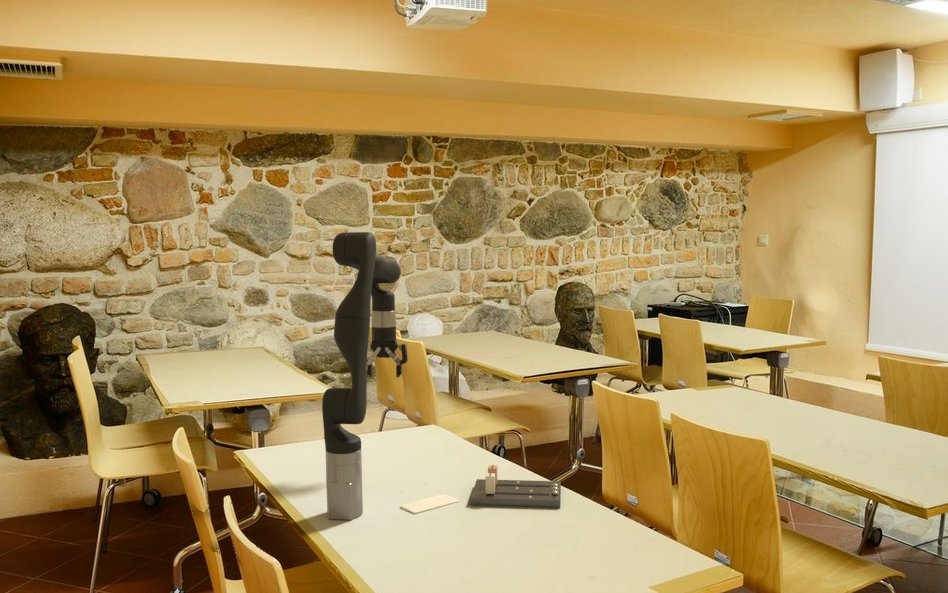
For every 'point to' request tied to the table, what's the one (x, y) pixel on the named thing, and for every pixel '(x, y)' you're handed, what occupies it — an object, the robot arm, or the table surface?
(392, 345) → the robot arm
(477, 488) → the console
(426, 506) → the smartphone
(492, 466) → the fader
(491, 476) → the fader
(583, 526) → the table surface
